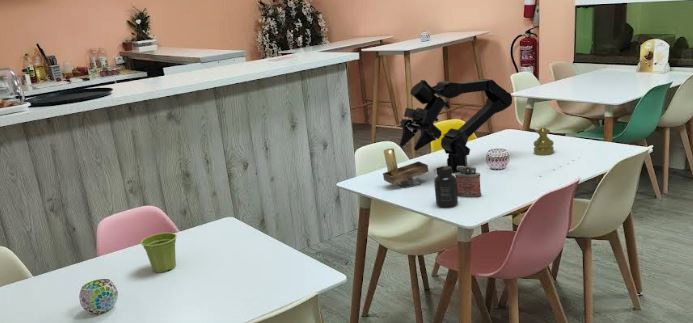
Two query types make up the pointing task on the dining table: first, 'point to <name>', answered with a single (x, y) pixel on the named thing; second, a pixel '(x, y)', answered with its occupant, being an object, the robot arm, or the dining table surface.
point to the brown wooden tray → (407, 172)
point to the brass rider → (391, 162)
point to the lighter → (468, 182)
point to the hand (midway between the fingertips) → (407, 148)
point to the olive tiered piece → (543, 143)
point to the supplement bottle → (445, 187)
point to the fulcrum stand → (408, 183)
